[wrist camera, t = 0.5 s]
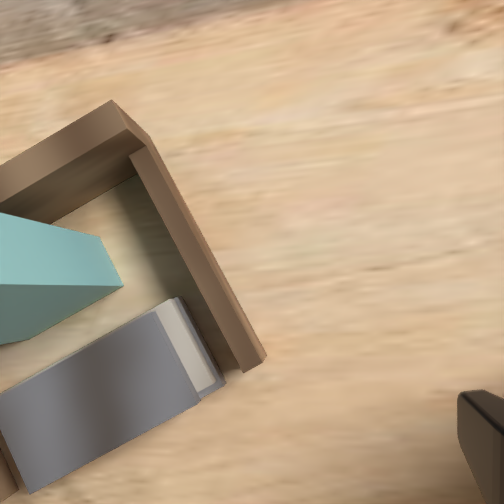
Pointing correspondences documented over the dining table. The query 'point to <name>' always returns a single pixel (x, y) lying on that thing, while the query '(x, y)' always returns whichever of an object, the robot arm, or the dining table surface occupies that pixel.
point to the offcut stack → (107, 393)
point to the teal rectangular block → (48, 275)
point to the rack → (101, 180)
